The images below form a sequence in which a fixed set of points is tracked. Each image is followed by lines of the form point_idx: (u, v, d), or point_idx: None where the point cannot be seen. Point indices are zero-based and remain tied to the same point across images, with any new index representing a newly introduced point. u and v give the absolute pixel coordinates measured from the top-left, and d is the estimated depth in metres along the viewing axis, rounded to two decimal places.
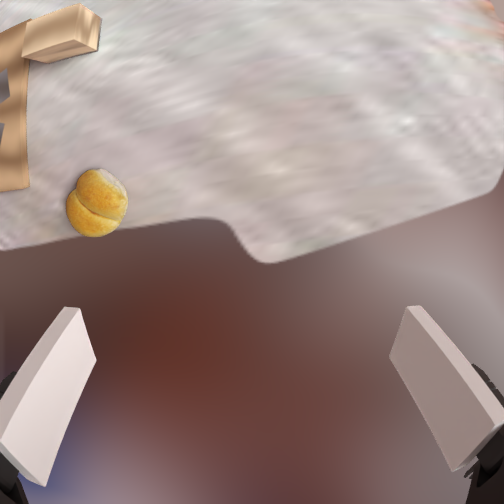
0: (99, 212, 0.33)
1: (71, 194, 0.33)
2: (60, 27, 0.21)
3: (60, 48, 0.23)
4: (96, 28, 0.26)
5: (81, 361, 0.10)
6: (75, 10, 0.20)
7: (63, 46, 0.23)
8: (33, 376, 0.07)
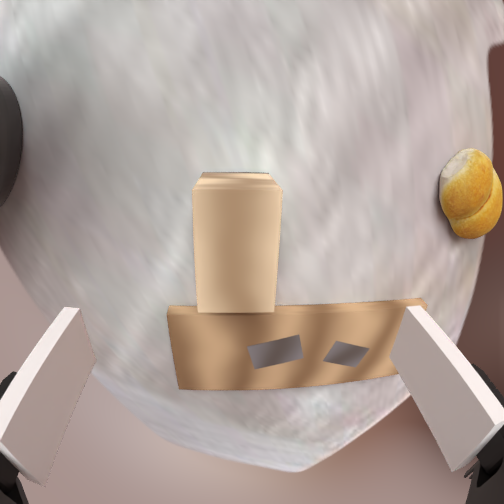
0: (491, 186, 0.21)
1: (461, 226, 0.24)
2: (241, 226, 0.17)
3: None
4: (228, 174, 0.22)
5: (81, 361, 0.10)
6: (209, 197, 0.17)
7: None
8: (33, 376, 0.07)
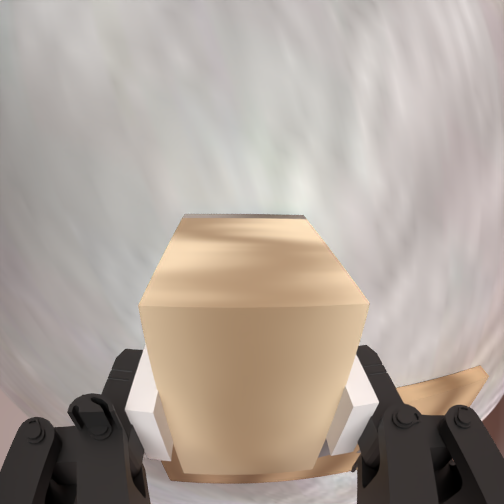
0: None
1: None
2: (265, 379, 0.07)
3: None
4: (230, 223, 0.11)
5: None
6: (183, 323, 0.06)
7: None
8: None
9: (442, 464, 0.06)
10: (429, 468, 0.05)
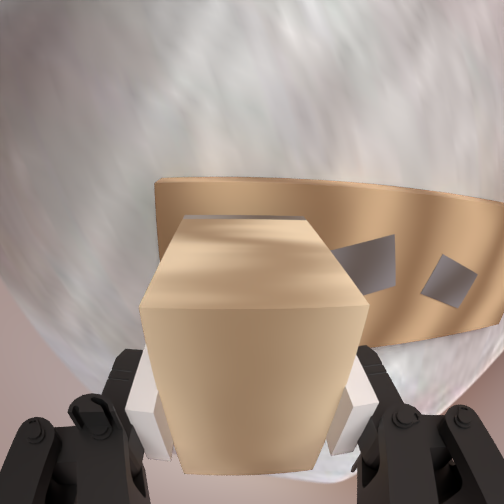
0: None
1: None
2: (265, 380, 0.07)
3: None
4: (230, 224, 0.11)
5: None
6: (183, 324, 0.06)
7: None
8: None
9: (442, 464, 0.06)
10: (429, 468, 0.05)
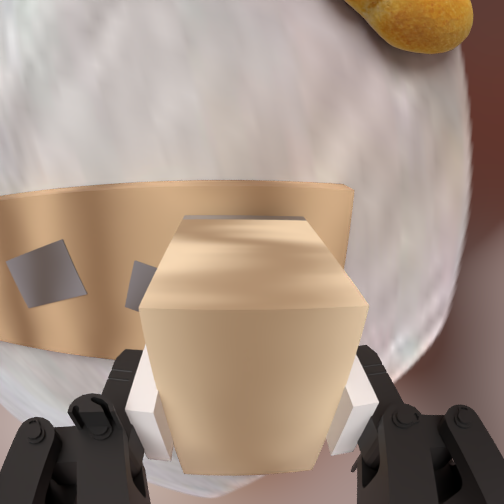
0: None
1: (387, 14, 0.09)
2: (265, 380, 0.07)
3: None
4: (230, 225, 0.11)
5: None
6: (183, 325, 0.06)
7: None
8: None
9: (442, 464, 0.06)
10: (429, 468, 0.05)
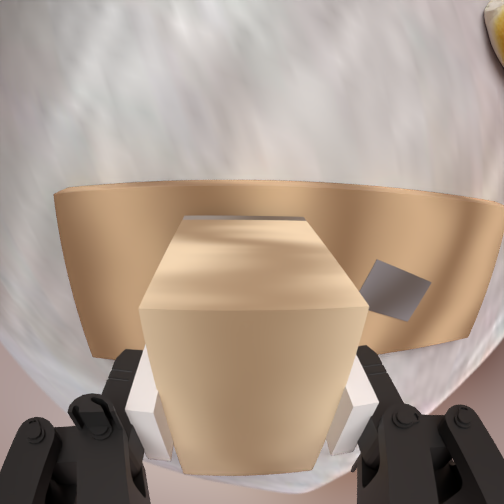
0: None
1: None
2: (265, 381, 0.07)
3: None
4: (230, 225, 0.11)
5: None
6: (183, 325, 0.06)
7: None
8: None
9: (442, 464, 0.06)
10: (429, 468, 0.05)
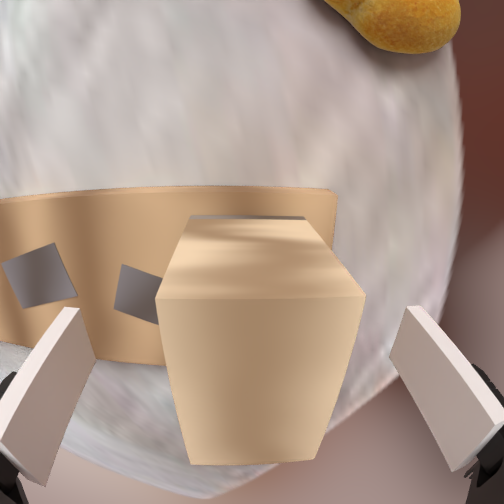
0: None
1: (369, 15, 0.10)
2: (271, 367, 0.08)
3: None
4: (234, 224, 0.12)
5: (81, 361, 0.10)
6: (196, 314, 0.07)
7: None
8: (33, 376, 0.07)
9: None
10: None
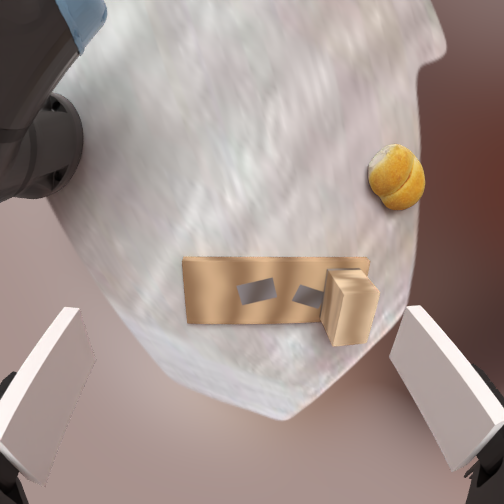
0: (409, 170, 0.34)
1: (388, 201, 0.37)
2: (361, 308, 0.35)
3: None
4: (343, 272, 0.40)
5: (81, 361, 0.10)
6: (350, 297, 0.35)
7: None
8: (33, 376, 0.07)
9: None
10: None
